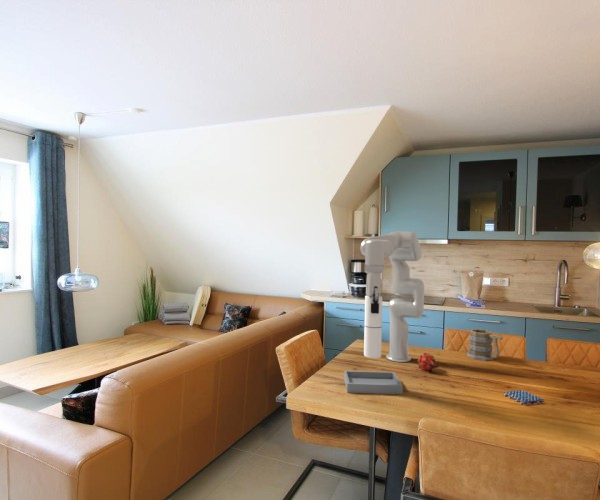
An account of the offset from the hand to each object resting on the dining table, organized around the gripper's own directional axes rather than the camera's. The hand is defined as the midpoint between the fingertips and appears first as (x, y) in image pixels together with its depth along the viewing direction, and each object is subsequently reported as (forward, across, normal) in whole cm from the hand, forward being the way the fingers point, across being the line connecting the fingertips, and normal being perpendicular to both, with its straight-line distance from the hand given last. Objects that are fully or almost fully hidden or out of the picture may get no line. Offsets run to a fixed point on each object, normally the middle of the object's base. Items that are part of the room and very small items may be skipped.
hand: (373, 311), depth 161 cm
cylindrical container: (+19, 0, 0) cm, 19 cm away
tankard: (+32, -44, +67) cm, 86 cm away
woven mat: (+32, +9, +58) cm, 67 cm away
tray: (+32, 0, 0) cm, 32 cm away
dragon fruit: (+32, -23, +30) cm, 50 cm away
